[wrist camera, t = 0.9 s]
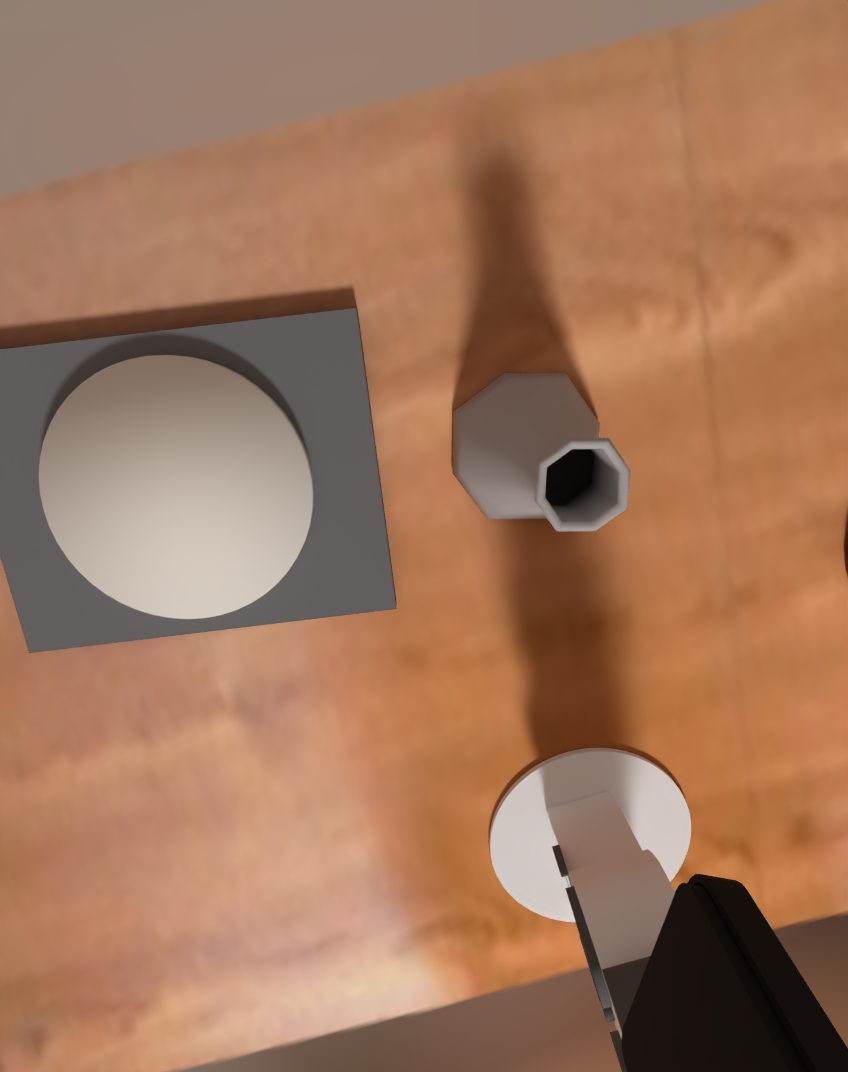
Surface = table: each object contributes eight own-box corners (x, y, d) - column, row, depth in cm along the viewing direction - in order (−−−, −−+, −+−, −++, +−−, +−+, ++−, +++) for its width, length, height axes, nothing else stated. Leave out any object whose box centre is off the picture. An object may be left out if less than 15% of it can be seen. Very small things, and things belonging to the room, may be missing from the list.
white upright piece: (461, 771, 35) (506, 1061, 20) (664, 712, 34) (856, 965, 20) (518, 938, 38) (592, 1293, 23) (704, 886, 37) (897, 1215, 23)
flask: (428, 398, 30) (443, 415, 20) (578, 346, 29) (666, 338, 20) (474, 540, 32) (508, 618, 22) (616, 494, 31) (713, 552, 22)
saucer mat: (357, 309, 28) (354, 306, 27) (396, 603, 32) (396, 615, 31) (-48, 356, 28) (-74, 356, 27) (38, 646, 32) (19, 660, 30)
